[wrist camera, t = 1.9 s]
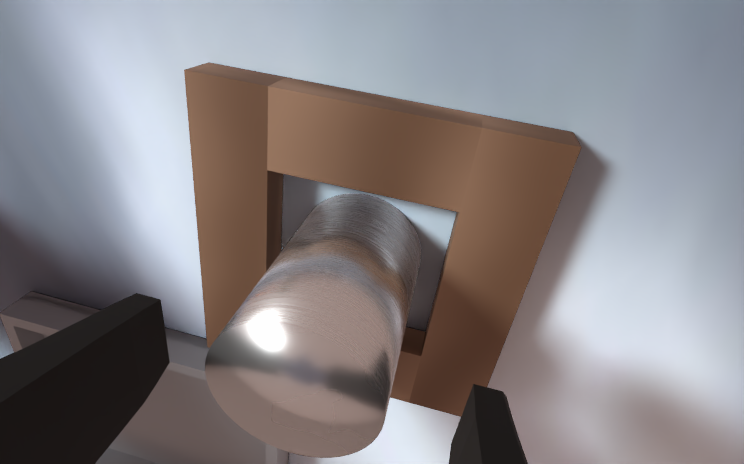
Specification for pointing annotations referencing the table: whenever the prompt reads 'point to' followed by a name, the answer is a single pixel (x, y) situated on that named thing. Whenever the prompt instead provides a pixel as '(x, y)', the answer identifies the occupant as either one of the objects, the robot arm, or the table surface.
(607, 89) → the table surface
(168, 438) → the tray
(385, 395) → the steel pin
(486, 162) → the socket block
